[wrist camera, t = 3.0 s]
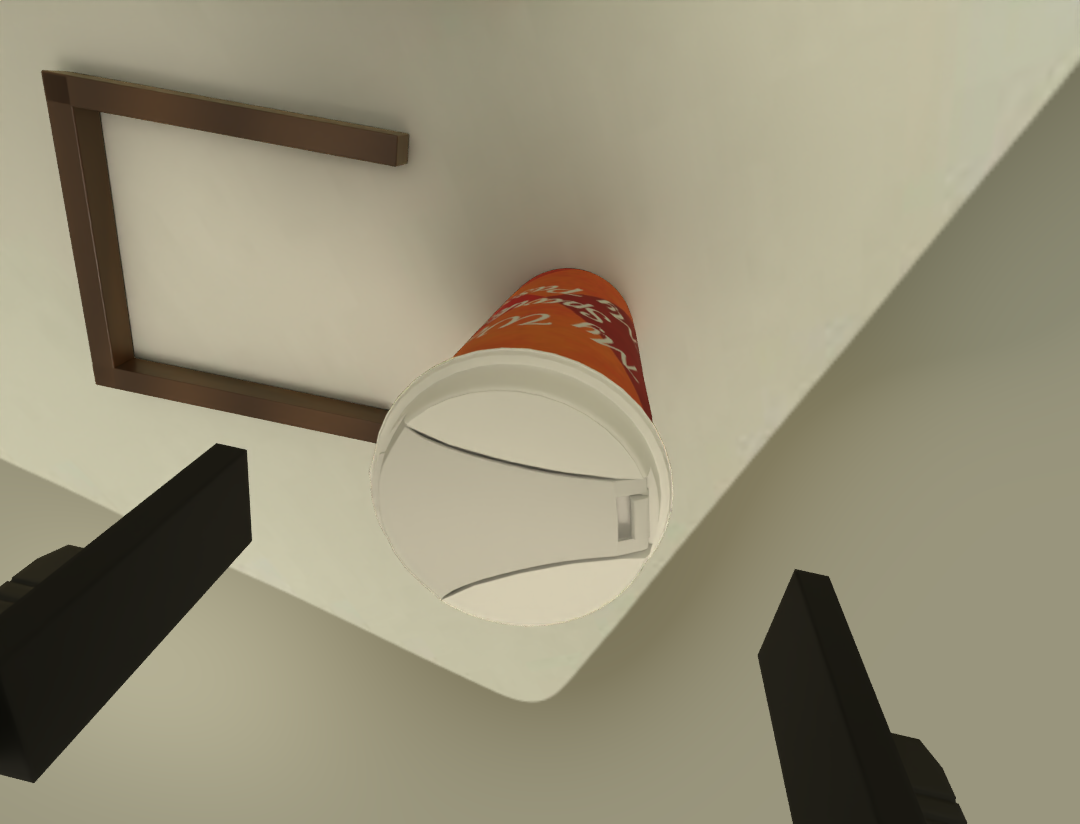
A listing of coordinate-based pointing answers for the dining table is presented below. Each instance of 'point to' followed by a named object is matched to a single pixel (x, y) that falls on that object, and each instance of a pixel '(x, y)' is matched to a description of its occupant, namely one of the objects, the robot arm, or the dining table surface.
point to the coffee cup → (528, 460)
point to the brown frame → (98, 252)
